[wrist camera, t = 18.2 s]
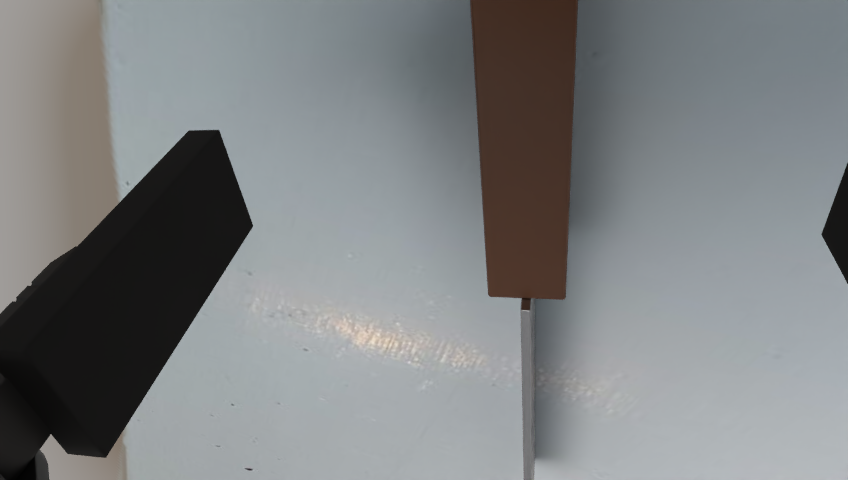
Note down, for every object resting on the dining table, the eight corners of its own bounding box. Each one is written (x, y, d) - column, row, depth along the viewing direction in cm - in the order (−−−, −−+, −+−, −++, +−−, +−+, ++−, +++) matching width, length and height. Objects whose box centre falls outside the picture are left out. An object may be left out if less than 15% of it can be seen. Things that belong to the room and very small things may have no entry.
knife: (483, -73, 16) (464, -34, 13) (577, -81, 16) (580, -42, 12) (507, 457, 30) (501, 536, 27) (556, 461, 30) (555, 542, 27)
